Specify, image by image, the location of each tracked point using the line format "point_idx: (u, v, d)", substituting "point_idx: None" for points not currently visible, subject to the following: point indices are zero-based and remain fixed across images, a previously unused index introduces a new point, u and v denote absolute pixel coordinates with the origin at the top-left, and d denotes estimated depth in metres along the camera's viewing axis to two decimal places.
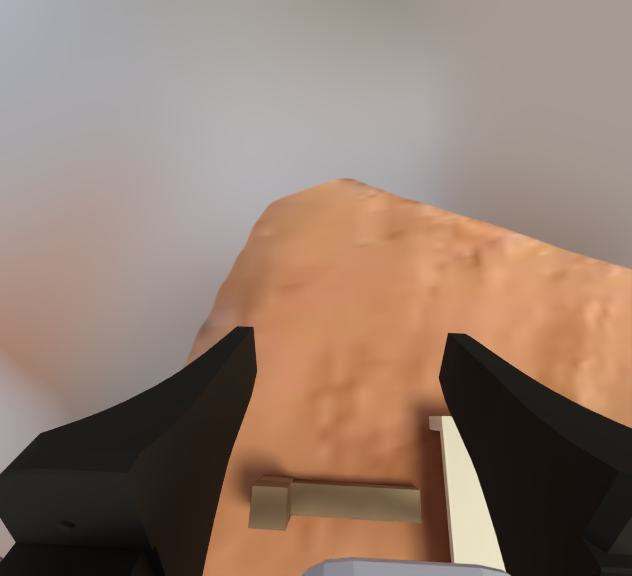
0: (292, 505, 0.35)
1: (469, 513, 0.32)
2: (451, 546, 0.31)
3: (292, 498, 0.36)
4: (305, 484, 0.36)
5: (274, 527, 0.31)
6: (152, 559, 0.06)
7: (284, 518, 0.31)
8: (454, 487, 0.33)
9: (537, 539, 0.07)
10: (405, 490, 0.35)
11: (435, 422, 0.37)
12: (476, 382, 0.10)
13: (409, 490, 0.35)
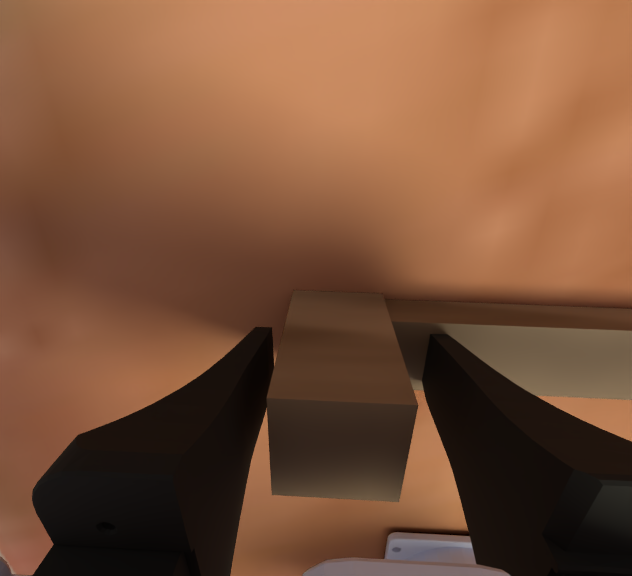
0: None
1: None
2: None
3: None
4: (430, 325, 0.11)
5: (362, 494, 0.09)
6: (190, 561, 0.06)
7: (398, 478, 0.09)
8: None
9: (504, 537, 0.07)
10: None
11: None
12: (453, 381, 0.10)
13: None
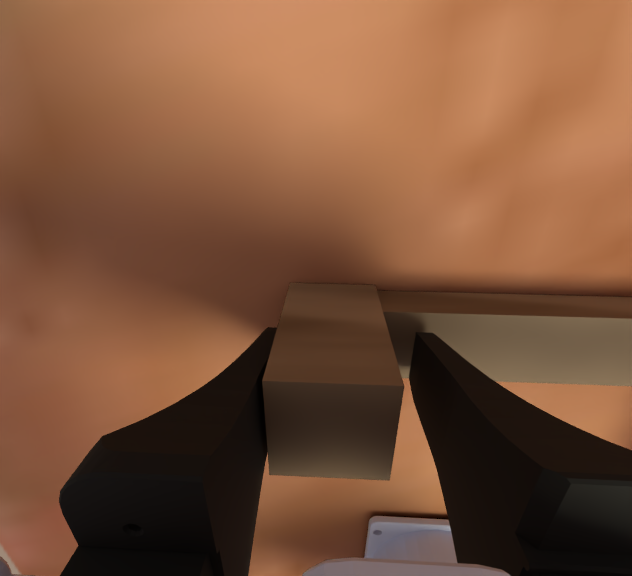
0: None
1: None
2: None
3: None
4: (420, 314, 0.12)
5: (354, 473, 0.09)
6: (214, 563, 0.06)
7: (388, 457, 0.09)
8: None
9: (482, 535, 0.07)
10: None
11: None
12: (437, 381, 0.10)
13: None
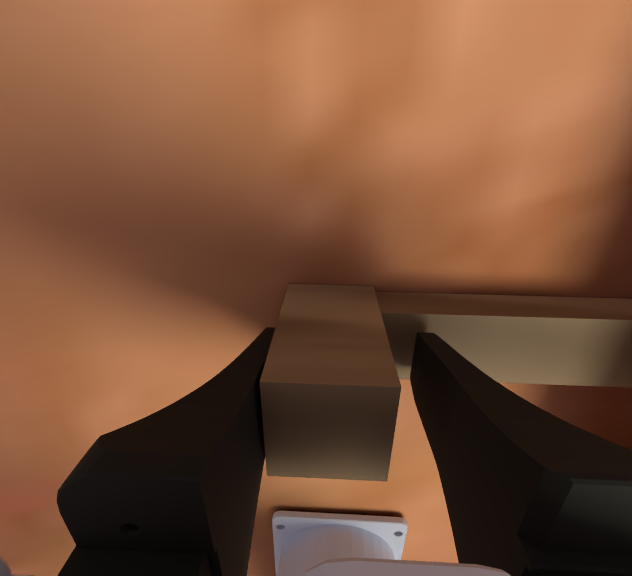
0: None
1: None
2: None
3: None
4: (418, 316, 0.12)
5: (352, 474, 0.10)
6: (212, 563, 0.06)
7: (385, 458, 0.09)
8: None
9: (484, 536, 0.07)
10: None
11: None
12: (438, 381, 0.10)
13: None
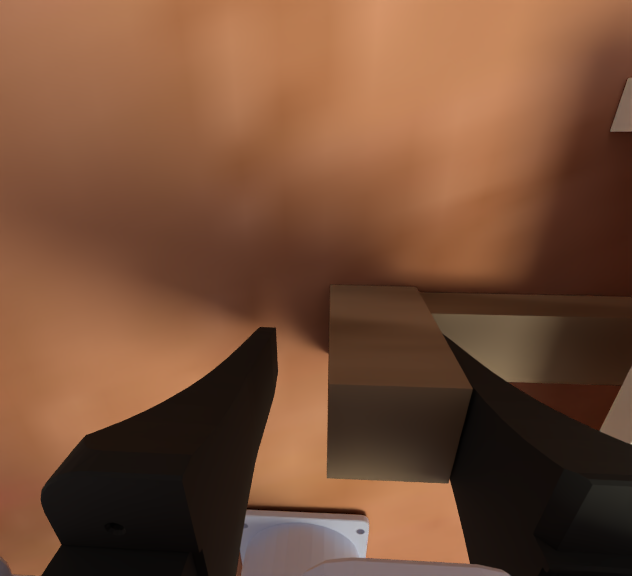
0: None
1: None
2: None
3: None
4: (466, 316, 0.12)
5: (414, 476, 0.09)
6: (197, 561, 0.06)
7: (449, 460, 0.09)
8: None
9: (497, 537, 0.07)
10: None
11: None
12: None
13: None
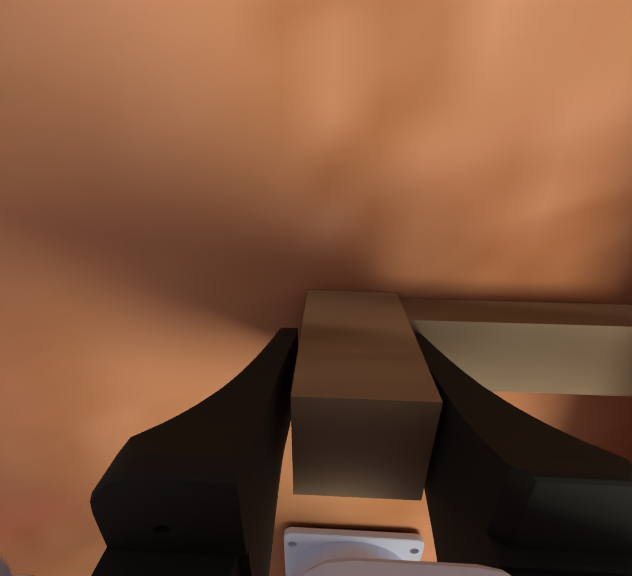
0: None
1: None
2: None
3: None
4: (446, 323, 0.11)
5: (384, 493, 0.09)
6: (242, 564, 0.06)
7: (421, 476, 0.09)
8: None
9: (459, 535, 0.07)
10: None
11: None
12: None
13: None
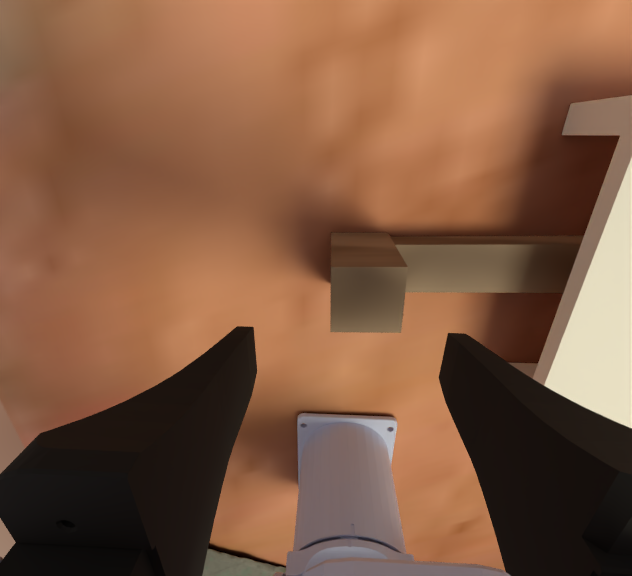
0: None
1: (616, 296, 0.16)
2: (554, 338, 0.18)
3: None
4: (417, 246, 0.19)
5: (380, 328, 0.16)
6: (152, 559, 0.06)
7: (400, 315, 0.16)
8: (608, 255, 0.15)
9: (537, 538, 0.07)
10: None
11: (604, 114, 0.15)
12: (476, 382, 0.10)
13: None
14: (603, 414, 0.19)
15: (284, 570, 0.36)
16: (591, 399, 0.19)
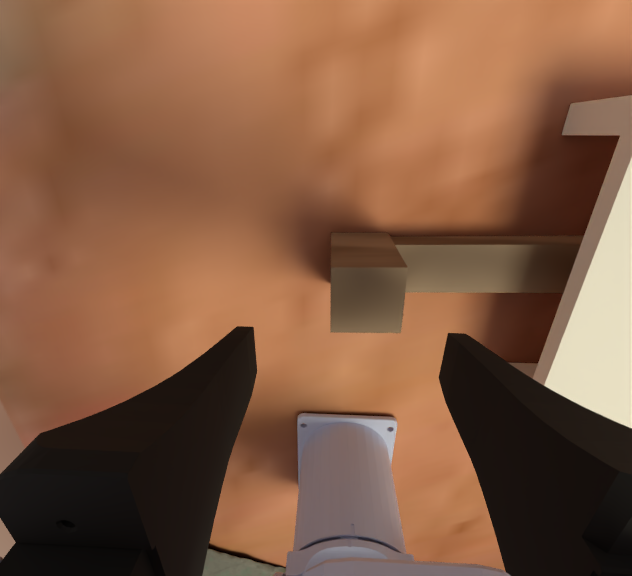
0: None
1: (616, 296, 0.16)
2: (554, 338, 0.18)
3: None
4: (417, 246, 0.19)
5: (380, 329, 0.16)
6: (152, 559, 0.06)
7: (399, 316, 0.16)
8: (608, 255, 0.15)
9: (537, 538, 0.07)
10: None
11: (604, 114, 0.15)
12: (476, 382, 0.10)
13: None
14: (603, 414, 0.19)
15: (283, 570, 0.36)
16: (591, 399, 0.19)
